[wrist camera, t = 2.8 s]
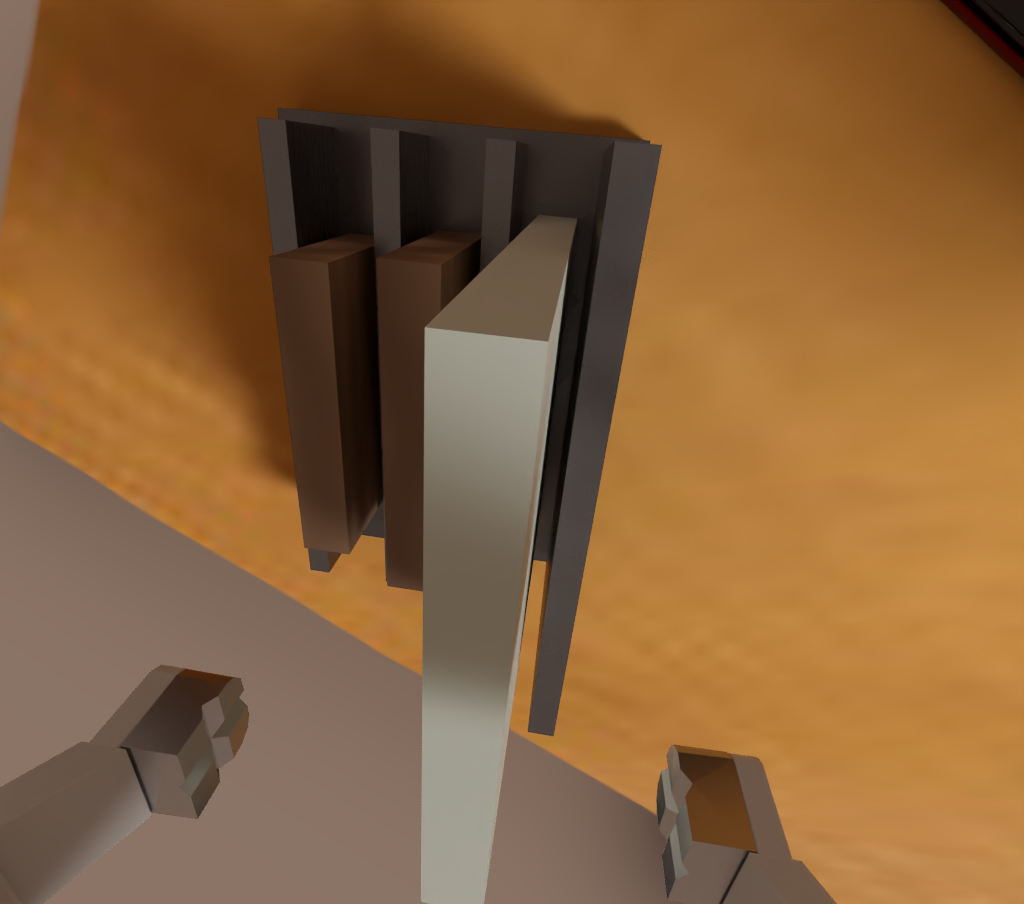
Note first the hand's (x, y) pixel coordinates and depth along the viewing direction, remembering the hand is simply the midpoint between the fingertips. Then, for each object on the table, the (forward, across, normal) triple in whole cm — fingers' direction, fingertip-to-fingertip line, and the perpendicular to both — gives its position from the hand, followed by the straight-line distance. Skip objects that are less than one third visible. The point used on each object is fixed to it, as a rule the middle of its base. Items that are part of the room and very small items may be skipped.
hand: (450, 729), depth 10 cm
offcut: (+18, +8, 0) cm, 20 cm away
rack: (+20, +4, 0) cm, 20 cm away
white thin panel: (+18, 0, 0) cm, 18 cm away
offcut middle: (+18, +4, 0) cm, 19 cm away
